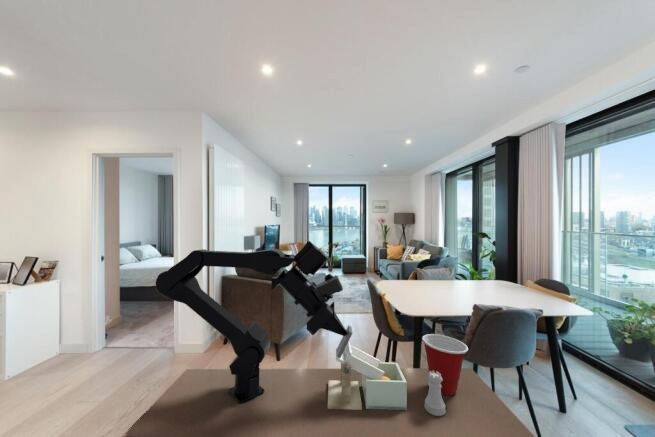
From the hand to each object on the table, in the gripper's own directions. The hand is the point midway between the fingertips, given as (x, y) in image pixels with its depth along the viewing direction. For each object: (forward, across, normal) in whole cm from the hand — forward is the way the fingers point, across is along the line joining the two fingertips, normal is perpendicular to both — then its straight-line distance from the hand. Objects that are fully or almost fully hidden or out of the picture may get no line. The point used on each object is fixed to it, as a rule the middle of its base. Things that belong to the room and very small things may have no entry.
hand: (345, 334), depth 65 cm
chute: (+7, 0, +3) cm, 8 cm away
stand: (+10, 0, +10) cm, 14 cm away
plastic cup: (+29, +4, -7) cm, 30 cm away
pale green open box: (+16, 0, +4) cm, 17 cm away
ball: (+15, 0, +2) cm, 15 cm away
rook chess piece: (+25, -4, -3) cm, 25 cm away
